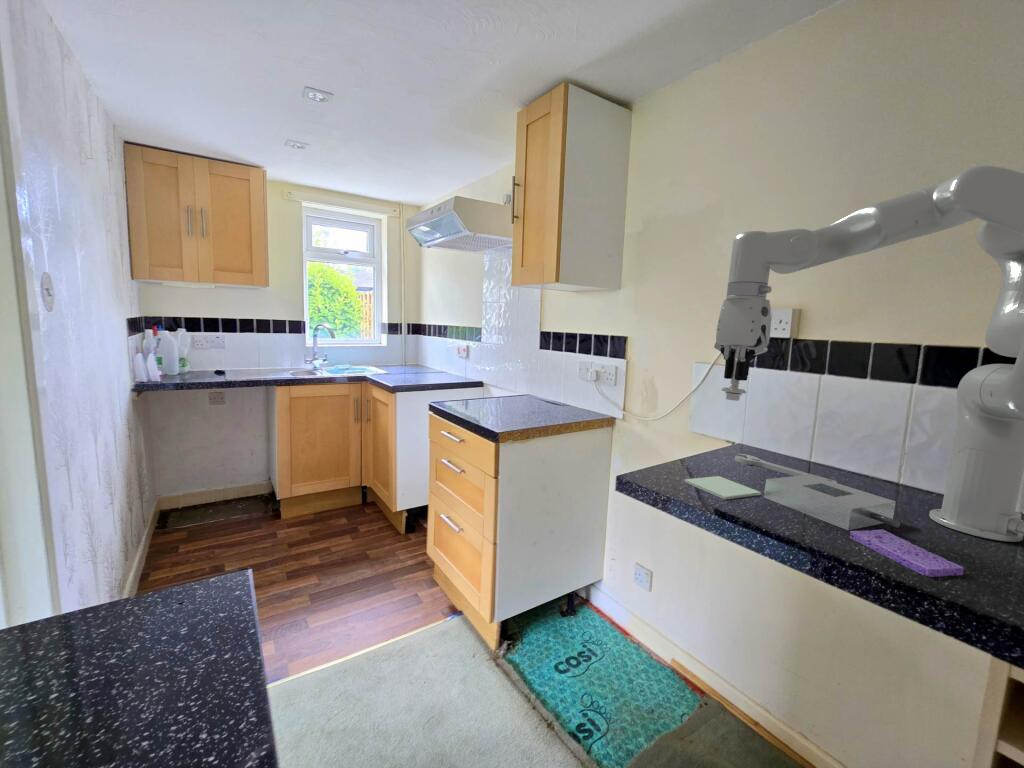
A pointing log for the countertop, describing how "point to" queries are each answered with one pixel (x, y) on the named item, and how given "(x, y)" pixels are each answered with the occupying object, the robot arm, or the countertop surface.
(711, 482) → the rubber mat
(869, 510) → the steel block
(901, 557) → the sponges
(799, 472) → the adjustable wrench
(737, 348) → the screw
